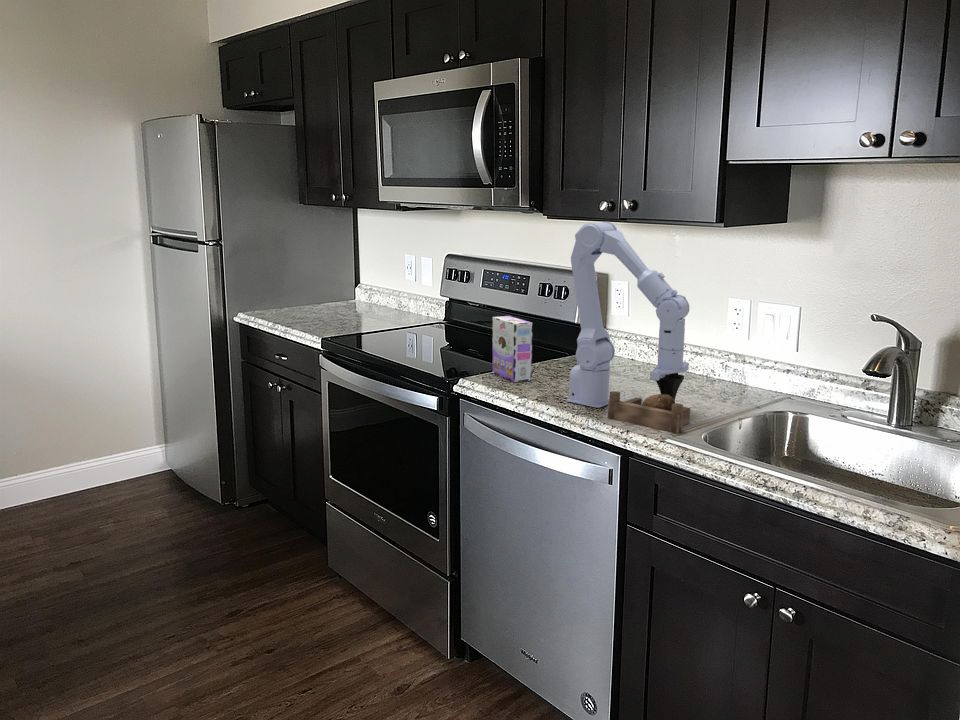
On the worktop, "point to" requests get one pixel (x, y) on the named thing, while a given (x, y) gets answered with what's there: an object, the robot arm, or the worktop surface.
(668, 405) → the mushroom
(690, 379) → the worktop surface
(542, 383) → the worktop surface
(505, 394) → the worktop surface
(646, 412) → the wooden crate
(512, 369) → the candy box
